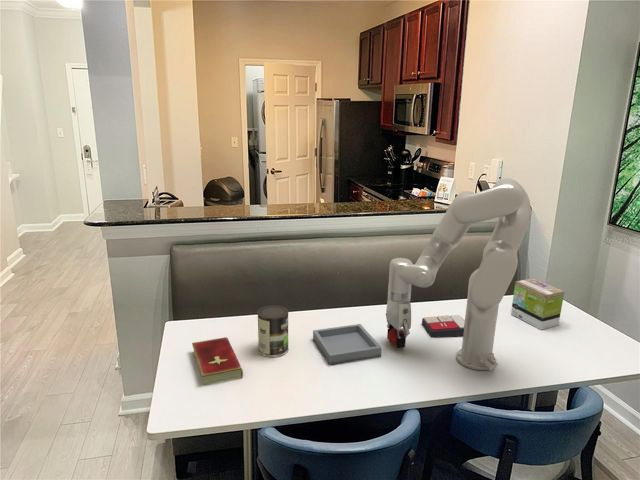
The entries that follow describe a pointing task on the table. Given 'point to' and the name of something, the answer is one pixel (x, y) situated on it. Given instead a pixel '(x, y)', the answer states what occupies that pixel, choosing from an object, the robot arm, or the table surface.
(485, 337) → the robot arm
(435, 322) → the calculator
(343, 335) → the tray
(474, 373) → the table surface
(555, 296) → the tea box
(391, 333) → the onion
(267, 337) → the coffee can
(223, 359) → the hardcover book
